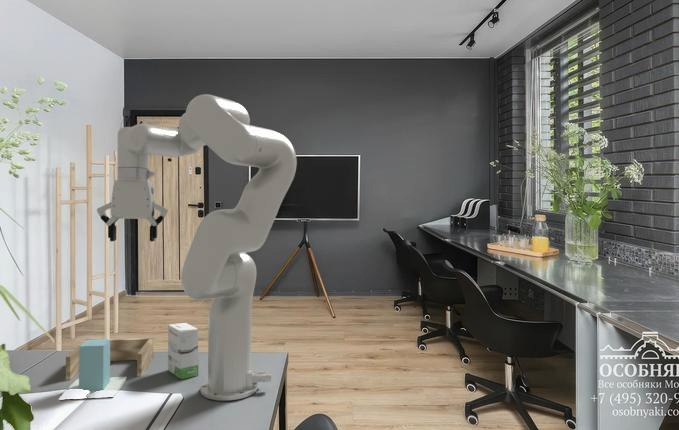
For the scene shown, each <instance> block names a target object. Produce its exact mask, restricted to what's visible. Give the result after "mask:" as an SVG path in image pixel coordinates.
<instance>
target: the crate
mask: <svg viewBox="0 0 679 430" xmlns="http://www.w3.org/2000/svg"><path fill="white" fill-rule="evenodd" d="M84 342H85V341H83V342H82V343H81V344H83V343H84ZM79 346H80V345H79ZM79 346H77V347H76V348H75V349H74V350H73V351H71V352H70V353H68V355H66V356H65V380H66V381H68V380H69V381H70V380H71V379H73V378H74V377H75V376H76V375H77V374H79ZM153 359H154V337H141V338H140V337H138V338H112V339H111V338H110V362H113V361H133V360H134V361H136V363H137V364H136V366H137V367H136V369H137V370H136V376H137V377H142V376H143V375H144V373H145V371H146V370H147V369H148V367H149V365H150V364H151V362H152V360H153Z"/></svg>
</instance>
